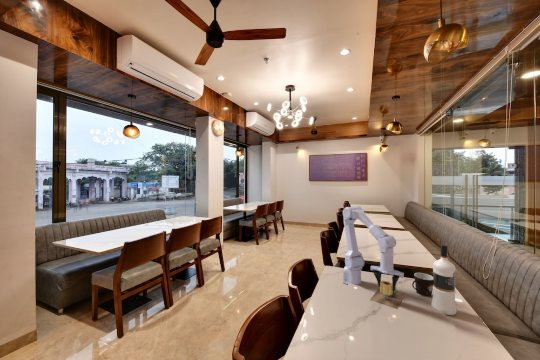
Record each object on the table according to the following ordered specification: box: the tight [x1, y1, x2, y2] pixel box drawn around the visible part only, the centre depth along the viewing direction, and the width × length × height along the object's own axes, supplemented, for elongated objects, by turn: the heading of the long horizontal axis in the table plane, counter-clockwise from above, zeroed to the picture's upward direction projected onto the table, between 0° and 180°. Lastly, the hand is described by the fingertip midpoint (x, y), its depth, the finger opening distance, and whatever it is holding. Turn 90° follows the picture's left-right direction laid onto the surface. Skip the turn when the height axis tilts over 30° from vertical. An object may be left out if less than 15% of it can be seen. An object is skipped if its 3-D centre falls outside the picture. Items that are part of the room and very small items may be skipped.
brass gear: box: [380, 280, 393, 295], centre depth 113 cm, size 6×6×4 cm
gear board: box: [369, 287, 406, 310], centre depth 115 cm, size 12×18×6 cm, turn 140°
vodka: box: [430, 244, 458, 316], centre depth 106 cm, size 9×9×30 cm
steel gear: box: [388, 286, 397, 297], centre depth 118 cm, size 6×6×4 cm
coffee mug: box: [411, 272, 433, 298], centre depth 119 cm, size 12×9×10 cm
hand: (386, 288), depth 113 cm, fingers closed on brass gear, 6 cm apart
